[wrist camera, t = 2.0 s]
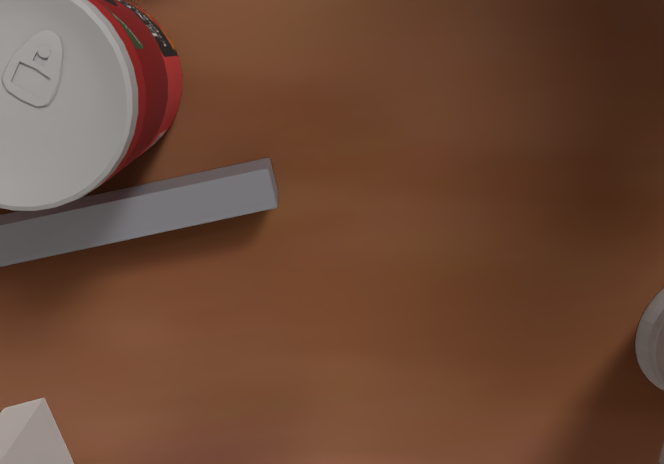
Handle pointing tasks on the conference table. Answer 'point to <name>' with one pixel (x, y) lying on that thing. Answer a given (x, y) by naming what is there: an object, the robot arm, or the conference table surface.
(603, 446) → the conference table surface
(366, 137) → the conference table surface
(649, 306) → the white and black mug
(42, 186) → the canned food
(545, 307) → the conference table surface
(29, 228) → the chute
